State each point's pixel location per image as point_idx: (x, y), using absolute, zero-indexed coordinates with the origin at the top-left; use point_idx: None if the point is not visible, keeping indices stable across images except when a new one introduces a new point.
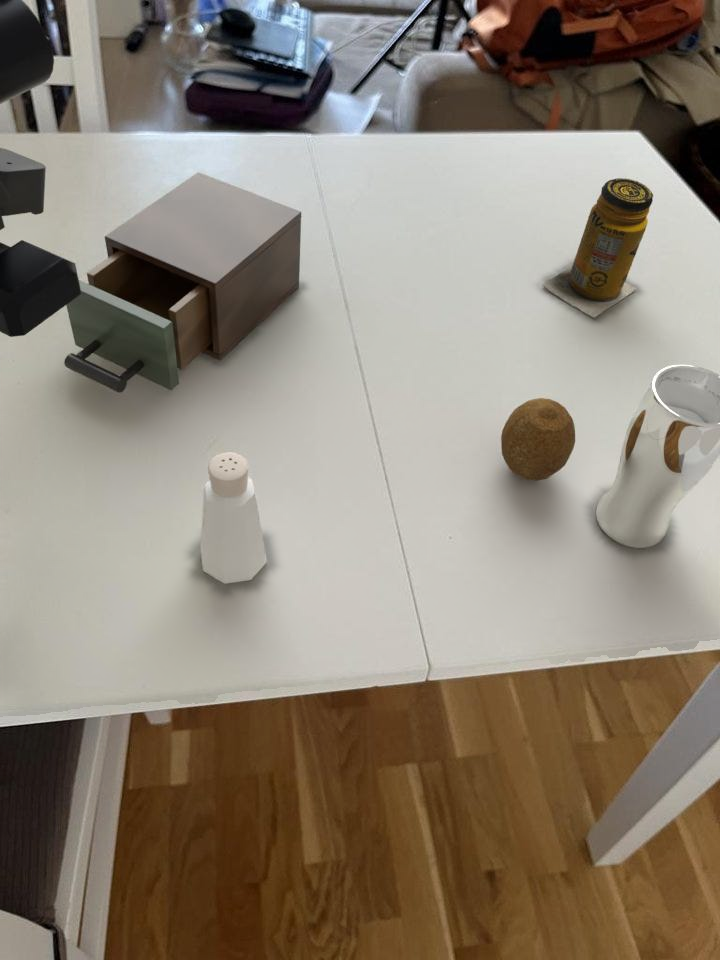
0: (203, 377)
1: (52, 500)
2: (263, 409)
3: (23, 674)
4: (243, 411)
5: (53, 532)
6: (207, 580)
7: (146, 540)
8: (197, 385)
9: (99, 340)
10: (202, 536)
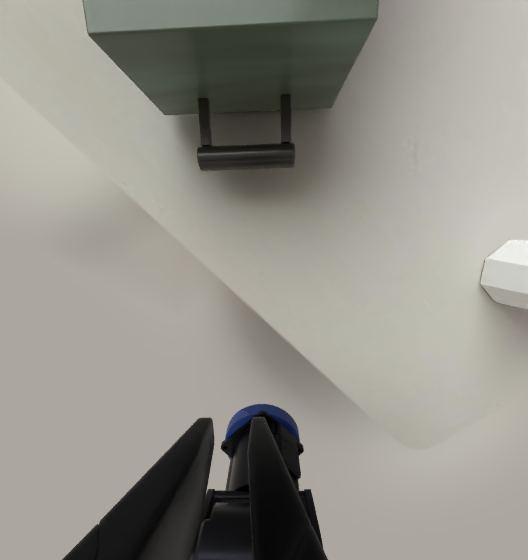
0: None
1: (314, 313)
2: (445, 51)
3: (408, 438)
4: (422, 73)
5: (341, 339)
6: (500, 305)
7: (423, 301)
8: None
9: (205, 96)
10: (520, 297)
